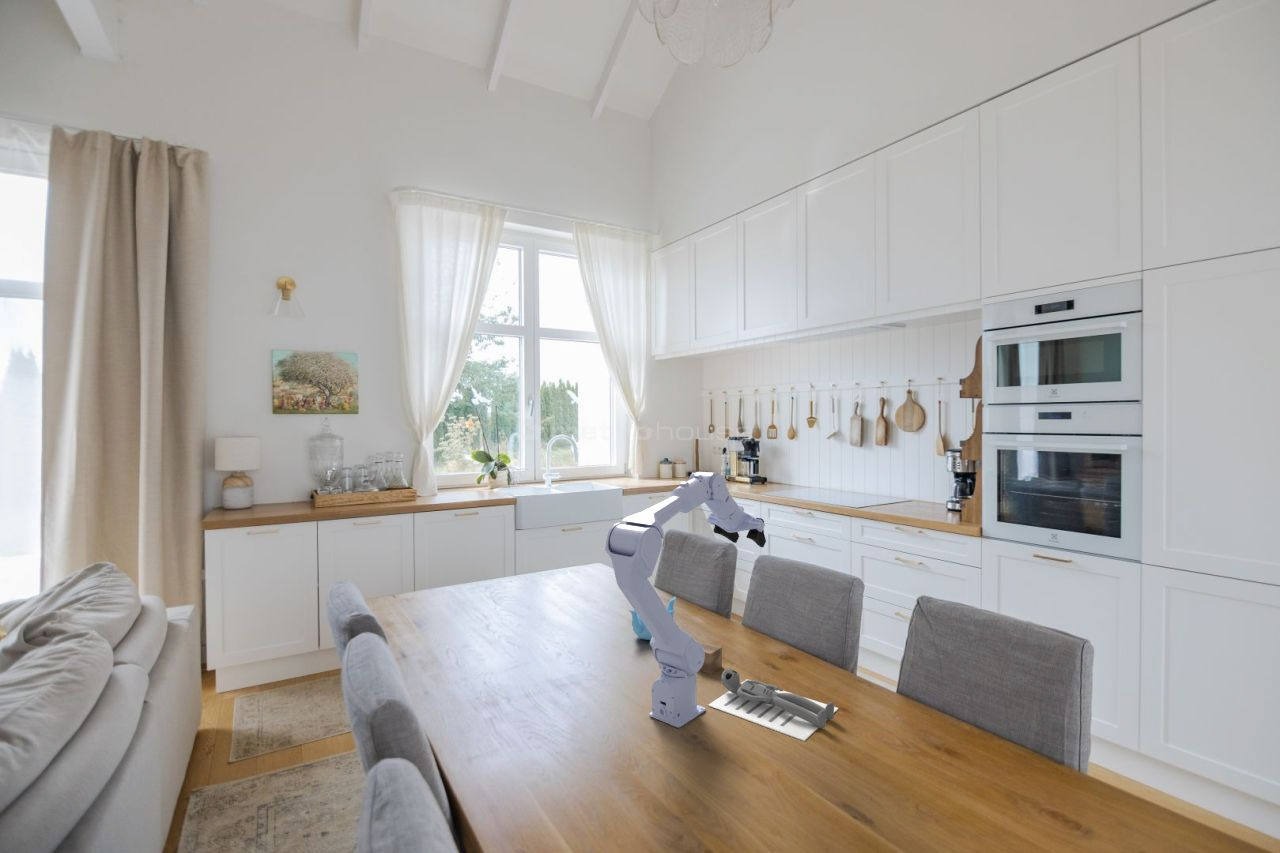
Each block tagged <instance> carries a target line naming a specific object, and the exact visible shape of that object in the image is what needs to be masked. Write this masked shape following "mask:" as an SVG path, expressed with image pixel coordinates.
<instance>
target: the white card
mask: <svg viewBox="0 0 1280 853" xmlns="http://www.w3.org/2000/svg"><path fill="white" fill-rule="evenodd" d="M746 680H750V681H752V679H745V680H744V681H742V682H740V683H741V684H742V683H743V682H745V681H746ZM775 691H776V690H775ZM776 692H778V693H791V694H793V693H792V692H790V691H789V692H788V691H785V690H783V691H779V690H778V691H776ZM803 697H804V698H806V699H808V700H810V701H812V702H814V703H816V704H818V705H820V706H821V707H823V708H826V705H827V704H828V703H823V702H820V701H817V700H814V699H811V698H807V697H805V696H803ZM707 706H708V707H710V708H713V709H716V710H718V711H721V712H724V713H726V714H729V715H732V716H734V717H737V718H740V719H743V720H746V721H748V722H751V723H754V724H756V725H759V726H762V727H763V728H764V727H765V728H768V729H770V730H772V731H776V732H778V733H781V734H784V735H787V736H789V737H792V738H794V739H796V740H799V741H802V742H806V740H808V738H810V737H811V736H812V735H813V734H814V733H815V732H816V731H817V730H818V729H819V727H817V726H815V725H813V724H811V723H809V722H808V721H806V720H804V719H802V718H800V717H798V716H795V715H793V714H791V713H789V712H787V711H785V710H783V709H781V708H779V707H777V706H775V705H770V704H765V703H762V702H759V701H750V700H745V699H742V698H740V697H739V696H738V695H736V694H734V693H732V692H730V691H729V690H727V692H725V693H724V694H722V695H721V696H720V697H718V698H717V699H715V700H713V701H712V702H710V703H709V704H708V705H707ZM838 710H839V707H836V706H834V714H835V713H837V711H838ZM813 714H814V713H813ZM815 715H816V714H815ZM816 716H818V715H816ZM826 721H828V719H826Z"/></svg>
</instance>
